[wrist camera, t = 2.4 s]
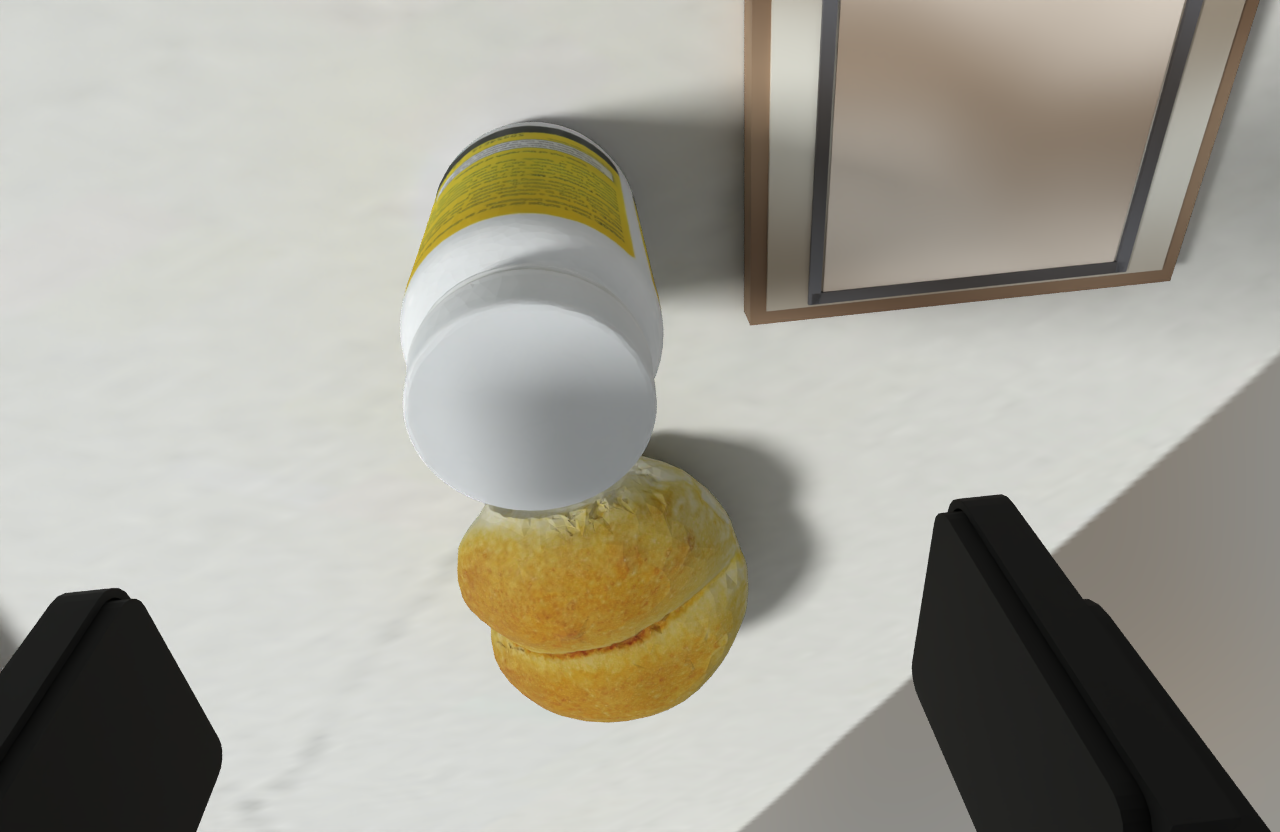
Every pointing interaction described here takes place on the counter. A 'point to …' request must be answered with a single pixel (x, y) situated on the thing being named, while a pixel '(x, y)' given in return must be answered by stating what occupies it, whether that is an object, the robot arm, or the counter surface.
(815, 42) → the brown double tray
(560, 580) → the bread roll
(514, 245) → the supplement bottle
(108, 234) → the counter surface
